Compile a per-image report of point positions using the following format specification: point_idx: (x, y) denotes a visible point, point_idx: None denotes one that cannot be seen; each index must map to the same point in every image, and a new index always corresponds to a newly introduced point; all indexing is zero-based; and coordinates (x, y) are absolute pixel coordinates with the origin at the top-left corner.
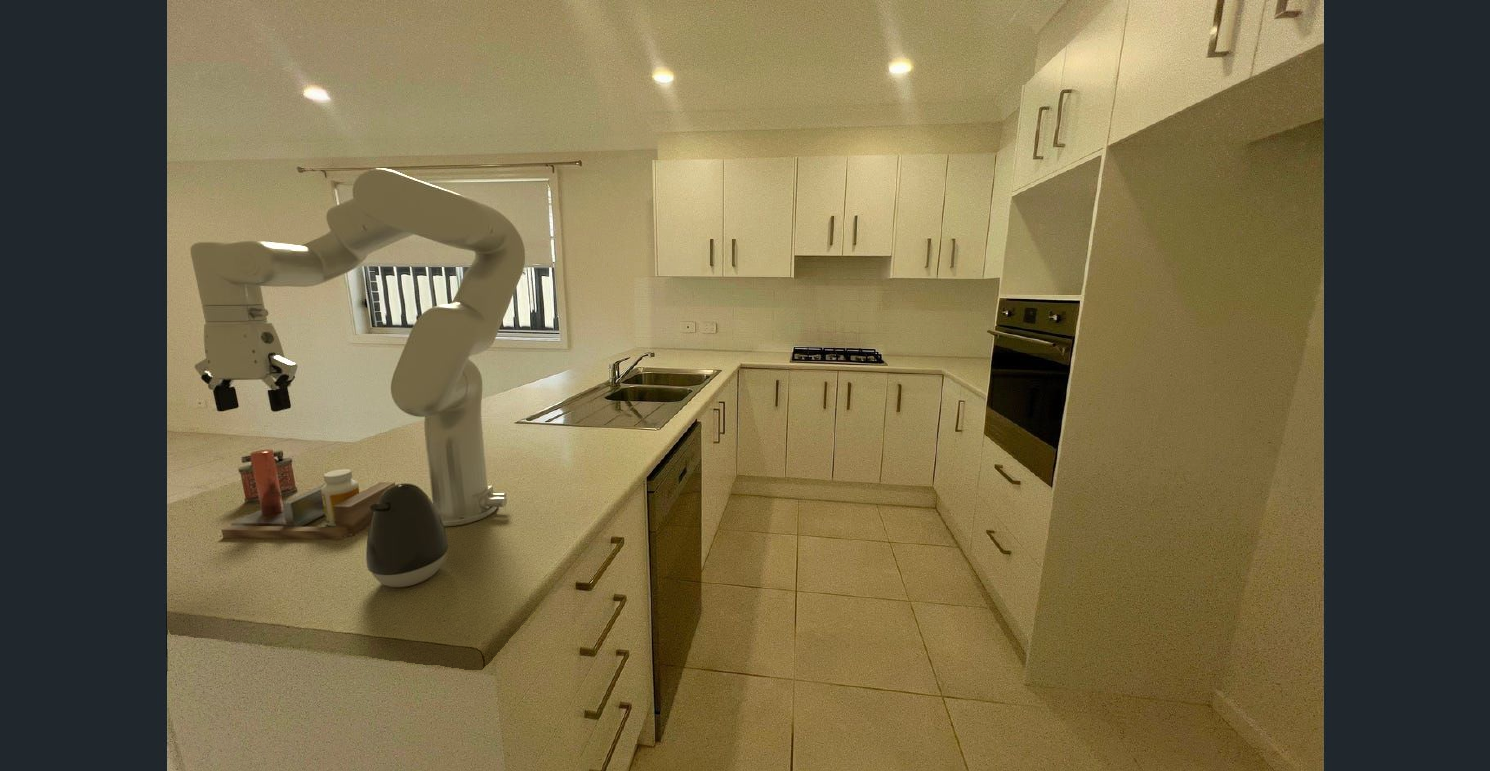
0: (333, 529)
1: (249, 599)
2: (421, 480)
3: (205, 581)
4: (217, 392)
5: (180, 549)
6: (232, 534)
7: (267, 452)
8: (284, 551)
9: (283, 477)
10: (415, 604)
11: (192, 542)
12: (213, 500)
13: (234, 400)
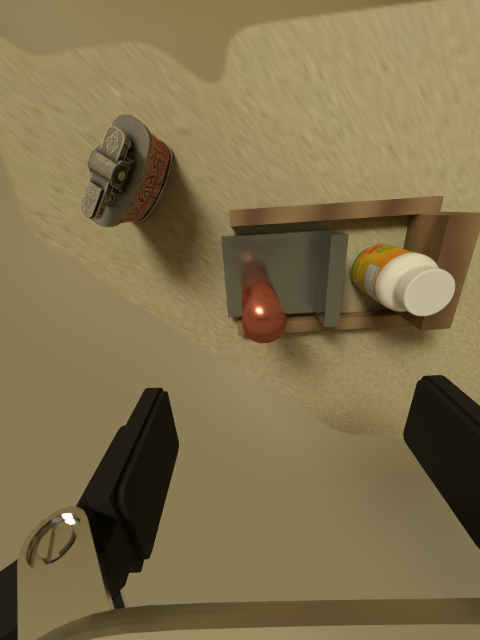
0: (399, 321)
1: (389, 420)
2: (422, 28)
3: (319, 403)
4: (149, 549)
5: (218, 357)
6: None
7: (282, 324)
8: (351, 351)
9: (157, 166)
10: None
11: (212, 343)
12: (58, 213)
13: (159, 431)
